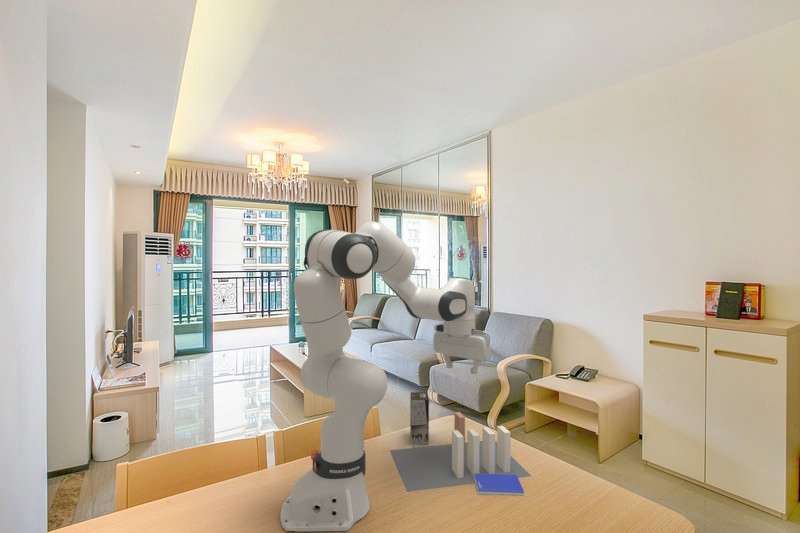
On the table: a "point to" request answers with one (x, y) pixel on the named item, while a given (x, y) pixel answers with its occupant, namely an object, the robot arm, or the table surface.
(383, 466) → the table surface
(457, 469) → the domino
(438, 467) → the mat
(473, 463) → the domino
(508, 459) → the domino
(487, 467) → the domino
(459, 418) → the tile
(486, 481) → the hard drive
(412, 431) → the coffee box
